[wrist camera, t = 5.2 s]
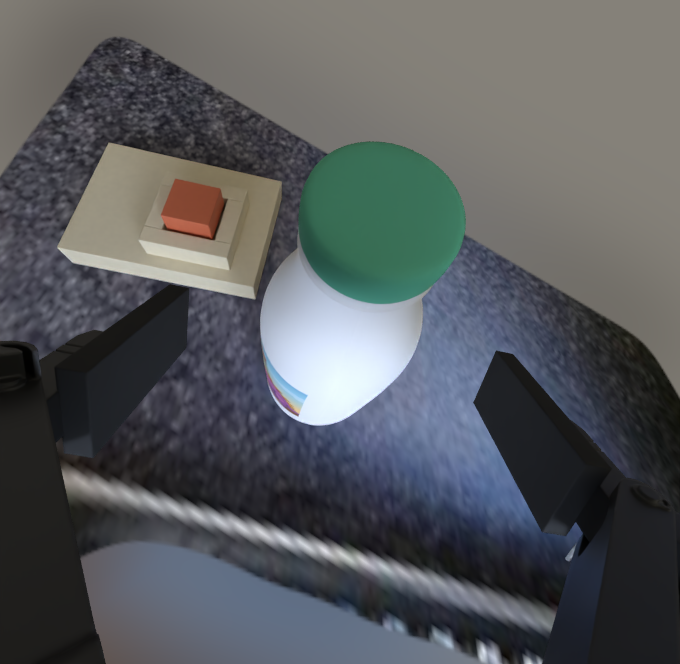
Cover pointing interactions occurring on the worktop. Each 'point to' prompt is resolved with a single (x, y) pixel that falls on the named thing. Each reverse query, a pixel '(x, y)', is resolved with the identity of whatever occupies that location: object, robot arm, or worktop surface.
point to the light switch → (151, 232)
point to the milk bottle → (357, 278)
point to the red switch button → (193, 209)
